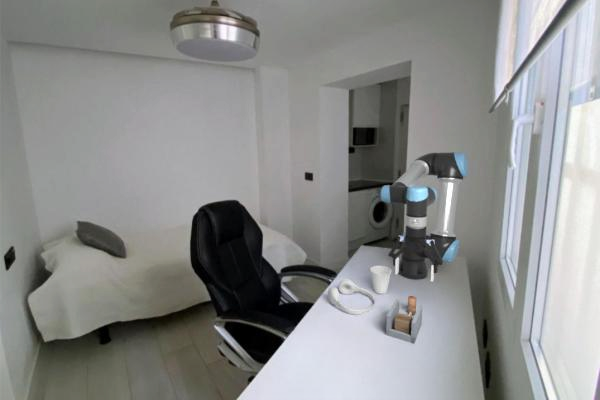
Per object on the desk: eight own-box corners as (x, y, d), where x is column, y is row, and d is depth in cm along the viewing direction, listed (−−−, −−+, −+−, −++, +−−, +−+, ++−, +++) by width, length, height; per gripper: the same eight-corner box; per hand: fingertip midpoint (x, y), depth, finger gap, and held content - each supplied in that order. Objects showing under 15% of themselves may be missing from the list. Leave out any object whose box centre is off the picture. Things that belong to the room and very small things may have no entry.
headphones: (322, 288, 133) (360, 310, 120) (345, 274, 146) (382, 292, 133) (320, 302, 135) (358, 325, 122) (344, 286, 148) (380, 306, 135)
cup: (392, 297, 138) (392, 274, 136) (370, 295, 140) (370, 273, 138) (390, 286, 147) (390, 265, 145) (369, 285, 149) (369, 264, 147)
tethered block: (406, 309, 127) (406, 294, 126) (418, 313, 125) (419, 297, 123) (394, 334, 112) (395, 317, 110) (408, 338, 109) (409, 321, 108)
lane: (395, 317, 122) (396, 299, 121) (421, 324, 117) (422, 305, 115) (386, 334, 111) (386, 315, 110) (414, 343, 106) (415, 323, 105)
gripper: (381, 224, 120) (380, 274, 124) (450, 232, 107) (447, 287, 111) (386, 220, 126) (385, 267, 130) (452, 227, 113) (449, 279, 117)
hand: (414, 276), depth 121 cm, fingers open, 13 cm apart
